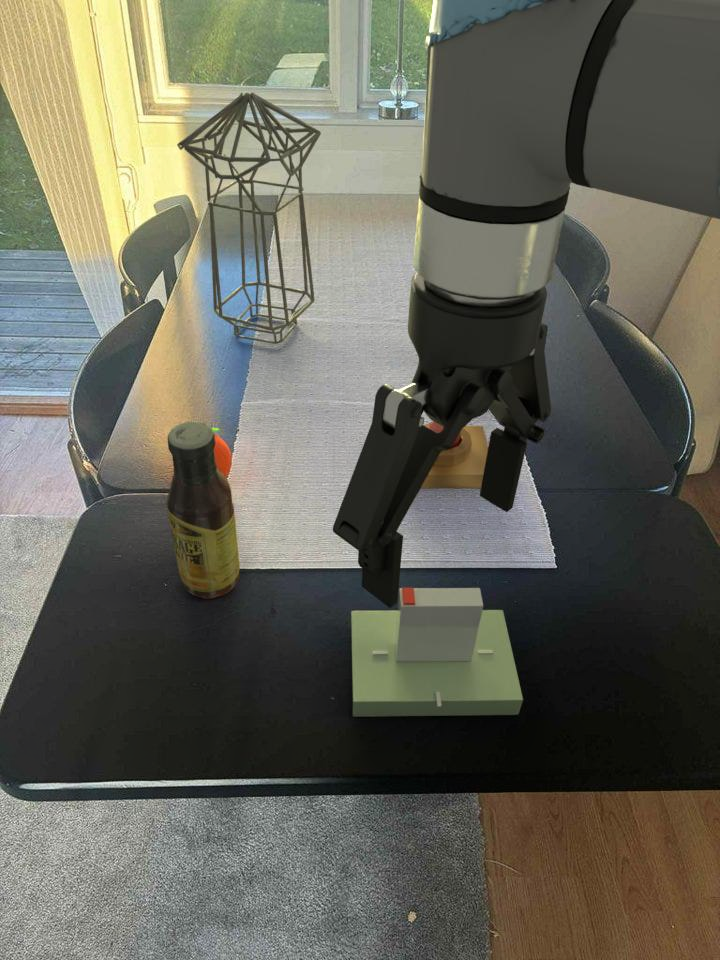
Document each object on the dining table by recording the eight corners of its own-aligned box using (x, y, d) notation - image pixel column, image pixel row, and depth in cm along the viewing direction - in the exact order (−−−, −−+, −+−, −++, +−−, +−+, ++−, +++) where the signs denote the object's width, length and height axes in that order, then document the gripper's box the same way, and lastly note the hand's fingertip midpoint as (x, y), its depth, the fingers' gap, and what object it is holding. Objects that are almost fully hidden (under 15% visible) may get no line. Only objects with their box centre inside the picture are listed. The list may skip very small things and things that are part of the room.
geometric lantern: (328, 319, 118) (326, 87, 95) (287, 364, 107) (274, 114, 84) (245, 301, 123) (224, 75, 100) (198, 343, 111) (162, 99, 88)
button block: (480, 438, 94) (484, 414, 92) (493, 487, 87) (498, 463, 84) (391, 438, 94) (393, 414, 91) (396, 488, 86) (398, 463, 84)
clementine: (206, 453, 90) (199, 408, 86) (250, 470, 88) (245, 425, 83) (165, 489, 85) (155, 442, 80) (211, 508, 83) (203, 461, 78)
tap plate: (498, 620, 71) (502, 603, 69) (519, 721, 63) (525, 705, 61) (350, 621, 71) (351, 604, 69) (352, 723, 62) (353, 707, 60)
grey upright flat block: (468, 643, 66) (480, 585, 60) (471, 661, 64) (484, 604, 59) (394, 643, 66) (399, 586, 60) (395, 662, 64) (401, 604, 59)
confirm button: (456, 430, 89) (458, 419, 88) (461, 450, 86) (462, 438, 85) (425, 430, 89) (426, 419, 88) (428, 450, 86) (430, 438, 85)
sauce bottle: (171, 576, 75) (136, 426, 62) (221, 549, 78) (199, 401, 65) (202, 614, 71) (172, 463, 58) (254, 585, 74) (237, 435, 61)
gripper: (547, 204, 47) (499, 450, 61) (259, 328, 34) (281, 609, 47) (650, 236, 43) (574, 491, 57) (371, 391, 30) (360, 677, 44)
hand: (441, 545), depth 52 cm, fingers open, 13 cm apart
